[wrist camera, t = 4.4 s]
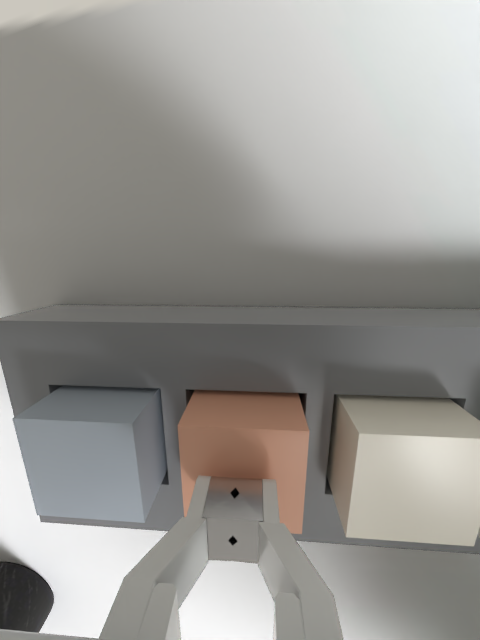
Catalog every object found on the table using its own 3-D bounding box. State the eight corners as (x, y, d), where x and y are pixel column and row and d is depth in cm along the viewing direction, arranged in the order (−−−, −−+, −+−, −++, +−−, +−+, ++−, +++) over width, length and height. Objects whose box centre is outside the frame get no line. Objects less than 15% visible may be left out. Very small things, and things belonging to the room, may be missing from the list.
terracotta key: (294, 380, 13) (309, 431, 9) (290, 459, 14) (301, 534, 11) (200, 377, 14) (177, 425, 10) (204, 455, 15) (184, 525, 11)
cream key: (430, 384, 13) (505, 439, 9) (413, 466, 14) (473, 546, 10) (329, 381, 13) (359, 433, 9) (322, 461, 14) (345, 537, 10)
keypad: (598, 309, 13) (751, 333, 9) (534, 491, 16) (630, 572, 12) (57, 304, 15) (-17, 321, 11) (86, 466, 18) (36, 527, 14)
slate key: (167, 376, 14) (132, 423, 10) (174, 453, 15) (144, 522, 11) (80, 373, 14) (12, 418, 10) (93, 449, 15) (37, 515, 11)
